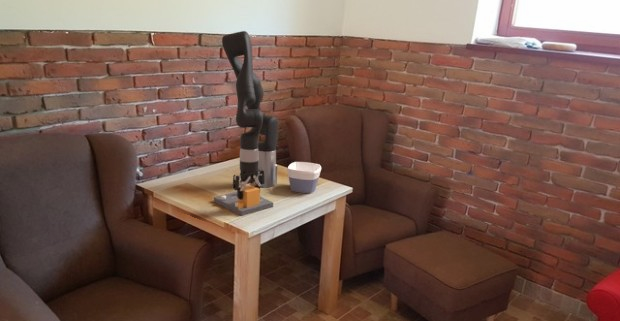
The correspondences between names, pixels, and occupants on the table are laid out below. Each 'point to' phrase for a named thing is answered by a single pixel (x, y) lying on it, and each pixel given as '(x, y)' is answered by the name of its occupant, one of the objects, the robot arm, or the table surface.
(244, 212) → the breaker panel
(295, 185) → the bowl
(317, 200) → the table surface
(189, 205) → the table surface
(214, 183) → the table surface
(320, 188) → the table surface
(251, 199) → the orange block
